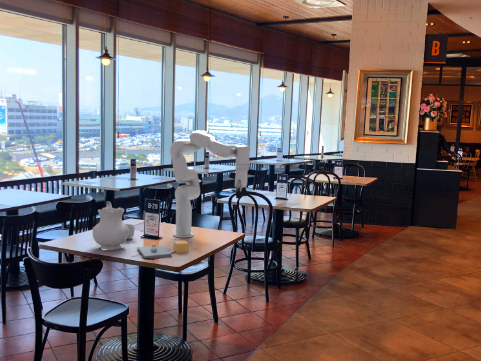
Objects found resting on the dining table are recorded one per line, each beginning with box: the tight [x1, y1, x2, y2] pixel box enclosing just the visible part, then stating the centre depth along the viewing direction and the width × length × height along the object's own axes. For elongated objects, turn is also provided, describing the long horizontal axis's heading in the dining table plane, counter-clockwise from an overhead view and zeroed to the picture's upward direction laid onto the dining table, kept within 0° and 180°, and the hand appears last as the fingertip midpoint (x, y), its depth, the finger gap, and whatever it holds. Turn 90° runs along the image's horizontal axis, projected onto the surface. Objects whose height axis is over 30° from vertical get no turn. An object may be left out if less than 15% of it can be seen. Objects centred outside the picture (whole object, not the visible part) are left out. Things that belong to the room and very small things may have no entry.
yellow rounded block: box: [173, 240, 190, 254], centre depth 257 cm, size 6×6×5 cm
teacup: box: [124, 223, 136, 241], centre depth 279 cm, size 14×11×8 cm
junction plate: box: [136, 243, 172, 259], centre depth 251 cm, size 18×14×5 cm
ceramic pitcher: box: [92, 201, 129, 251], centre depth 259 cm, size 22×20×25 cm
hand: (241, 197), depth 268 cm, fingers open, 9 cm apart
